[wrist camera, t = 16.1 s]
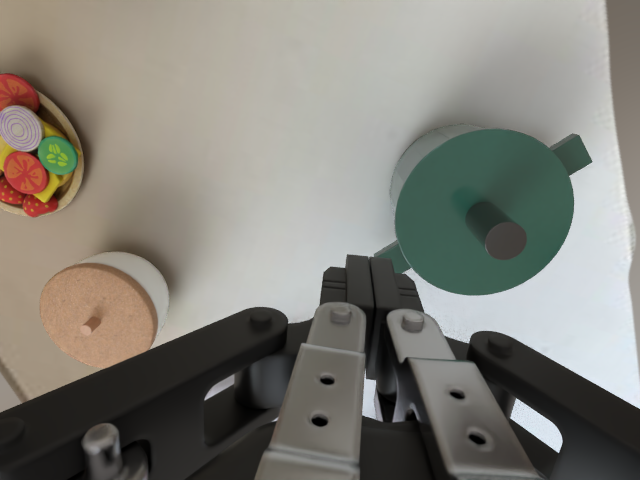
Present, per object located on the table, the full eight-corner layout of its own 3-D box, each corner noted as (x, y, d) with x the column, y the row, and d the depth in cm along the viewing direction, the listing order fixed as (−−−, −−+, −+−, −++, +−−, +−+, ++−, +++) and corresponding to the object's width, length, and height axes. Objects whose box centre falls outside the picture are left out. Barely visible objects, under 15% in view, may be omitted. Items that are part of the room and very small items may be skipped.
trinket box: (203, 277, 45) (168, 324, 36) (153, 342, 48) (110, 400, 40) (116, 216, 43) (57, 250, 34) (71, 288, 47) (6, 336, 38)
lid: (361, 192, 33) (363, 215, 27) (517, 89, 29) (559, 90, 24) (445, 315, 36) (464, 360, 30) (595, 235, 33) (648, 267, 27)
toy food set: (-65, 150, 42) (-97, 155, 39) (-6, 41, 38) (-37, 38, 35) (50, 237, 45) (28, 248, 42) (116, 144, 41) (98, 148, 38)
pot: (342, 189, 41) (340, 214, 33) (509, 77, 36) (554, 75, 28) (407, 282, 44) (420, 327, 36) (569, 190, 39) (625, 217, 31)
